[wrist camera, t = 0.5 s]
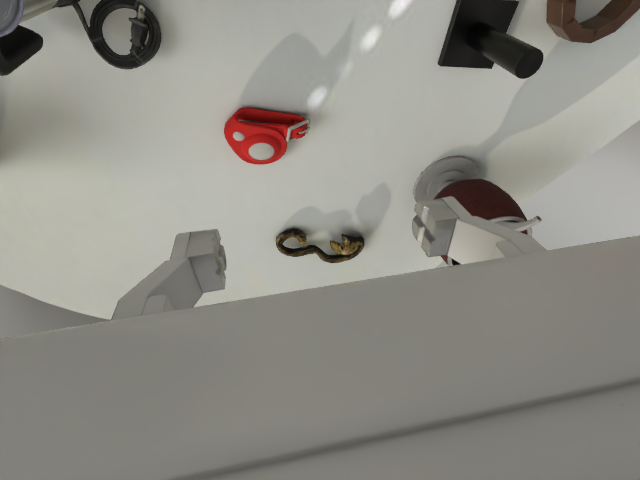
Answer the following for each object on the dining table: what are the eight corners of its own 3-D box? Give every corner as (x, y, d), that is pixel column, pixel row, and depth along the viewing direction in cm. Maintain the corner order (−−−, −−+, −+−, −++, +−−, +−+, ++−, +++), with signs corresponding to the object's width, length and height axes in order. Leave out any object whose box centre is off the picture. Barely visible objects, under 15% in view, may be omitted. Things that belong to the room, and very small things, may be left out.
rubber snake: (272, 261, 64) (295, 222, 59) (270, 245, 68) (291, 207, 62) (348, 279, 72) (374, 246, 67) (343, 264, 76) (367, 232, 71)
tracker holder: (267, 177, 55) (212, 152, 49) (265, 156, 57) (213, 129, 51) (319, 135, 48) (264, 99, 42) (315, 113, 50) (262, 75, 43)
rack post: (457, -5, 42) (514, 18, 33) (515, 0, 43) (584, 23, 34) (437, 64, 47) (480, 100, 38) (488, 66, 49) (541, 102, 39)
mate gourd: (454, 217, 70) (504, 295, 56) (396, 207, 65) (434, 287, 51) (503, 153, 60) (578, 227, 46) (438, 135, 56) (499, 211, 41)
